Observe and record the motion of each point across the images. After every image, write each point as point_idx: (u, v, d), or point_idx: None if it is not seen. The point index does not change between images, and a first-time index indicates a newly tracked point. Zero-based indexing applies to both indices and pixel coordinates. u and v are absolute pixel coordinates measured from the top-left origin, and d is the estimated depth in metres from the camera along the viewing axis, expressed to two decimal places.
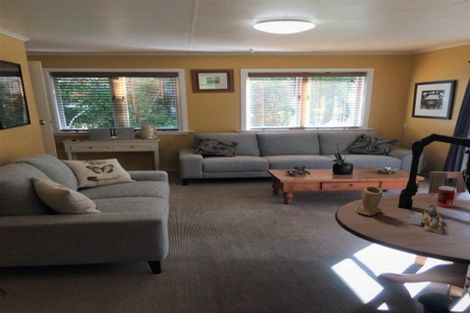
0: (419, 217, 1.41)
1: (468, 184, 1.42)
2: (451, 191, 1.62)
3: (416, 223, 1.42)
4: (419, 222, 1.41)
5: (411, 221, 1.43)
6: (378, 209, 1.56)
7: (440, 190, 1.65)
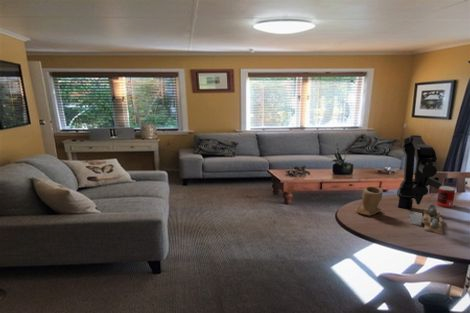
0: (419, 217, 1.41)
1: (415, 194, 1.37)
2: (451, 191, 1.62)
3: (416, 223, 1.42)
4: (419, 222, 1.41)
5: (411, 221, 1.43)
6: (378, 209, 1.56)
7: (440, 190, 1.65)
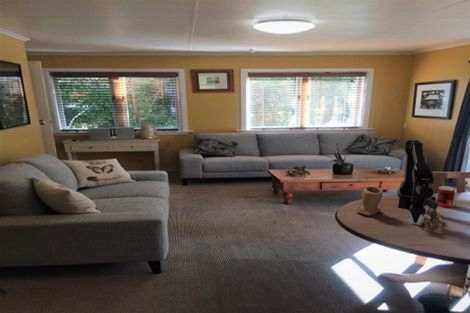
0: (419, 217, 1.41)
1: (412, 213, 1.41)
2: (451, 191, 1.62)
3: (416, 223, 1.42)
4: (419, 222, 1.41)
5: (411, 221, 1.43)
6: (378, 209, 1.56)
7: (440, 190, 1.65)
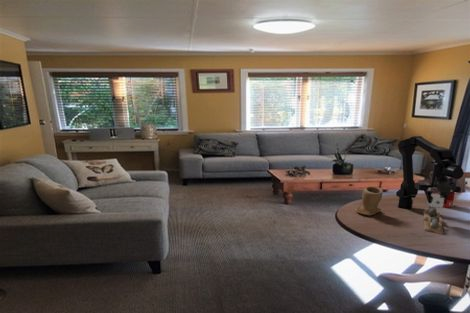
0: (431, 198, 1.42)
1: (425, 191, 1.44)
2: None
3: (430, 203, 1.43)
4: (431, 203, 1.42)
5: None
6: (378, 209, 1.56)
7: None
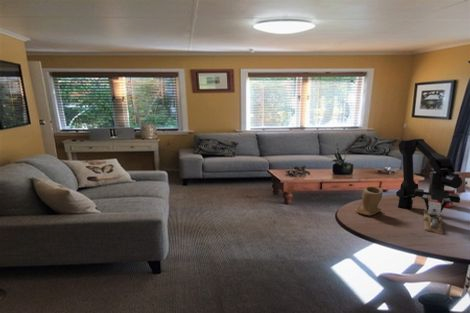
0: (428, 205, 1.44)
1: None
2: (451, 191, 1.62)
3: None
4: (428, 210, 1.44)
5: None
6: (378, 209, 1.56)
7: None
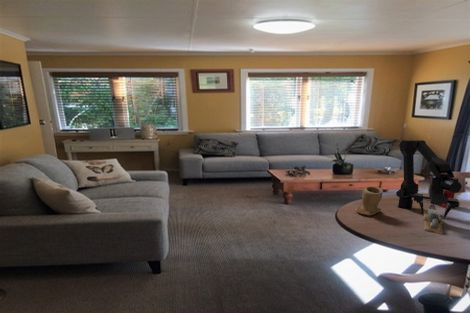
0: (427, 212, 1.44)
1: None
2: None
3: (427, 218, 1.46)
4: (427, 217, 1.45)
5: (427, 215, 1.47)
6: (378, 209, 1.56)
7: None
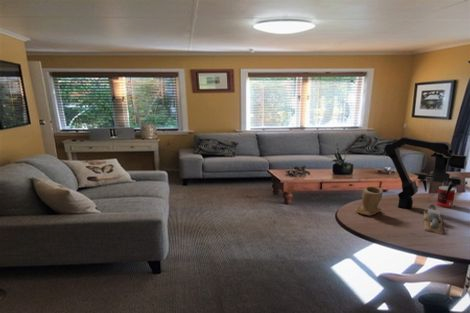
0: (427, 212, 1.44)
1: None
2: (451, 191, 1.62)
3: (427, 218, 1.46)
4: (427, 217, 1.45)
5: (427, 215, 1.47)
6: (378, 209, 1.56)
7: (440, 190, 1.65)
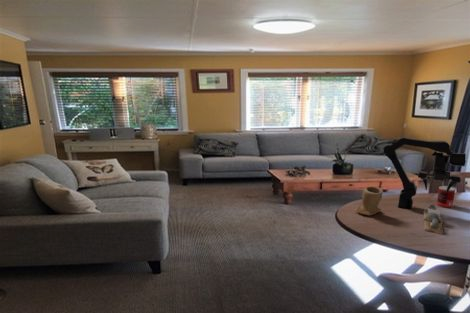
0: (427, 212, 1.44)
1: None
2: (451, 191, 1.62)
3: (427, 218, 1.46)
4: (427, 217, 1.45)
5: (427, 215, 1.47)
6: (378, 209, 1.56)
7: (440, 190, 1.65)
